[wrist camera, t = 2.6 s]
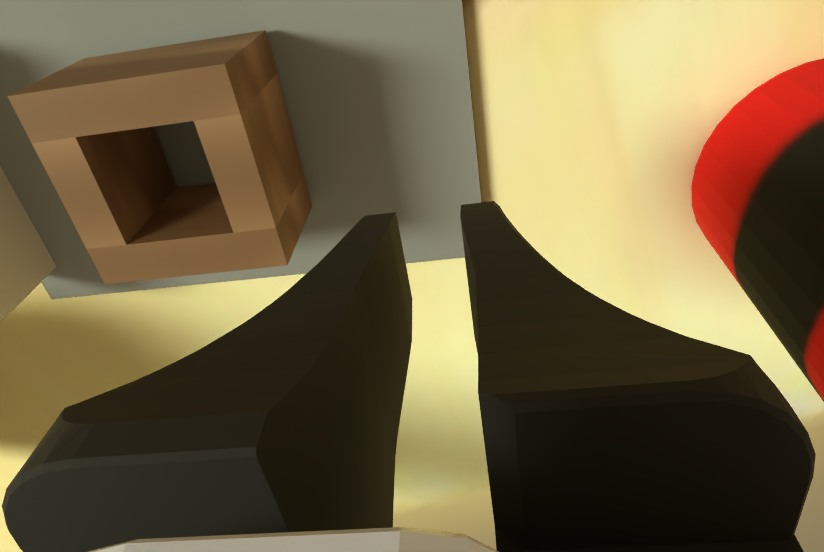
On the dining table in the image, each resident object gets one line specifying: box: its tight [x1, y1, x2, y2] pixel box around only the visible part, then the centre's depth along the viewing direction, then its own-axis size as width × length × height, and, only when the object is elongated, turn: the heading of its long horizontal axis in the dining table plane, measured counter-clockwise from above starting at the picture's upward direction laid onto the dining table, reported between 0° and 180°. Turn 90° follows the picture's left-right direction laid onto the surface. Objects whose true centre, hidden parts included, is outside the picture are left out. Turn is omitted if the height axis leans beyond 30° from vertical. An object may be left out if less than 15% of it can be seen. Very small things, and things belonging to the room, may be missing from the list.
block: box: [7, 30, 312, 284], centre depth 19 cm, size 6×6×4 cm
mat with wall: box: [0, 0, 482, 322], centre depth 19 cm, size 12×18×4 cm, turn 99°
